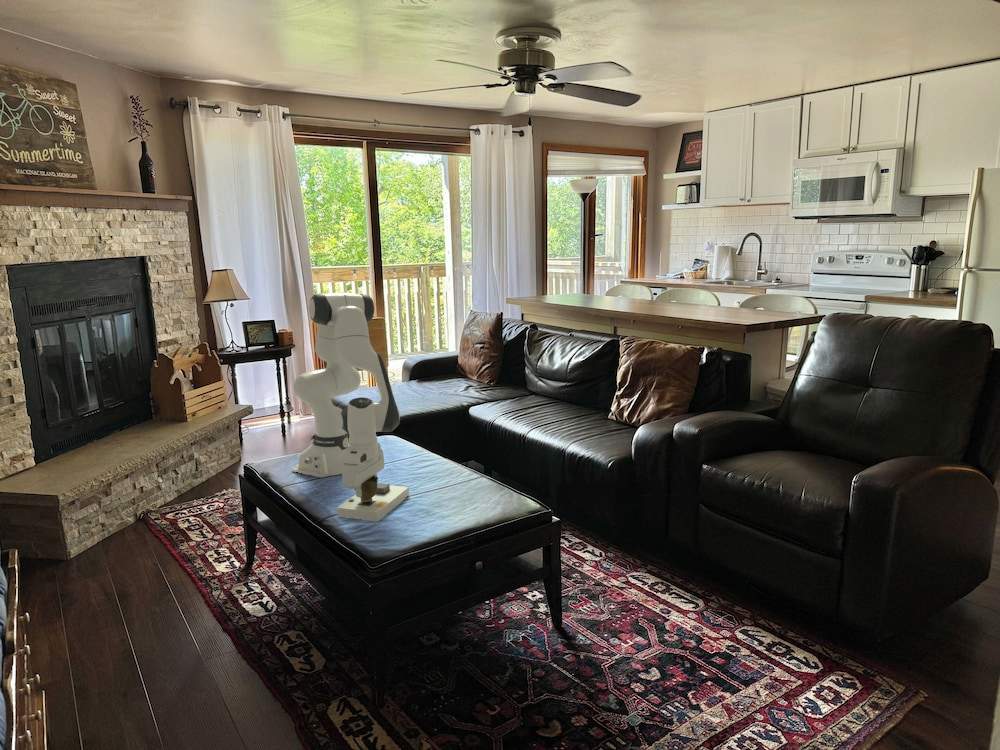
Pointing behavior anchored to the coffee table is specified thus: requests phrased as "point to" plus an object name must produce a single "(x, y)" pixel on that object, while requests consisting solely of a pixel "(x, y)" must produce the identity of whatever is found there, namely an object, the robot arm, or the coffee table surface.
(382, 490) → the block
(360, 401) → the robot arm
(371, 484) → the brown textured goblet
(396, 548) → the coffee table surface
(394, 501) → the panel
